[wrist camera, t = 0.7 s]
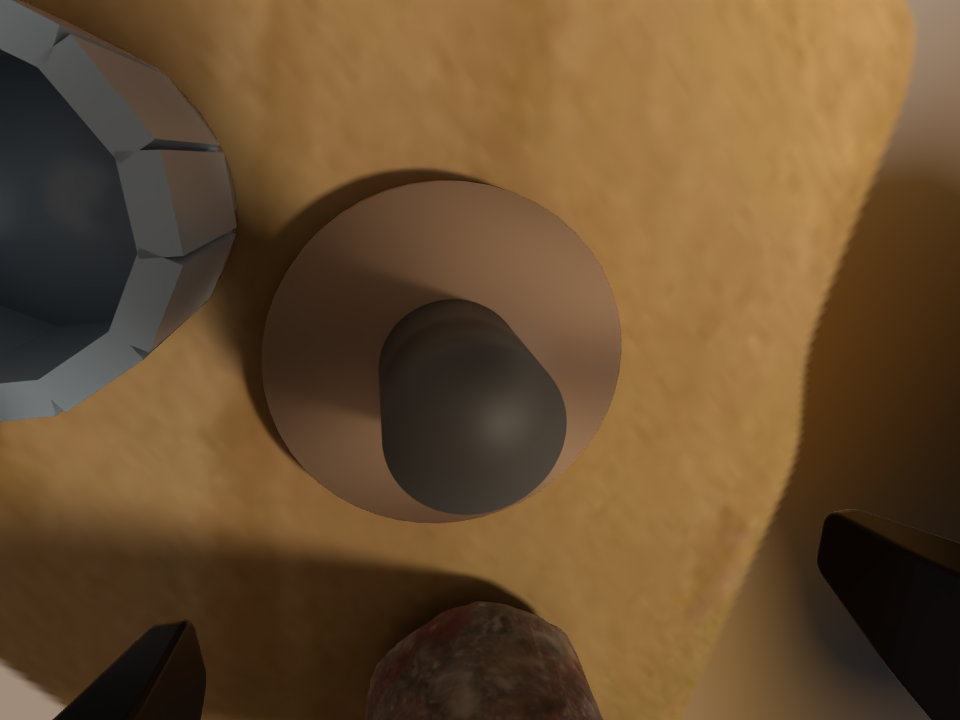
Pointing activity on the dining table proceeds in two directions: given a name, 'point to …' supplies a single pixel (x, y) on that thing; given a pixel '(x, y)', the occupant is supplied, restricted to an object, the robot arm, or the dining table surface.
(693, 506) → the dining table surface
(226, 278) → the dining table surface
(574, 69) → the dining table surface
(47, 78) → the pot
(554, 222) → the lid
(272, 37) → the dining table surface
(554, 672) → the candle
